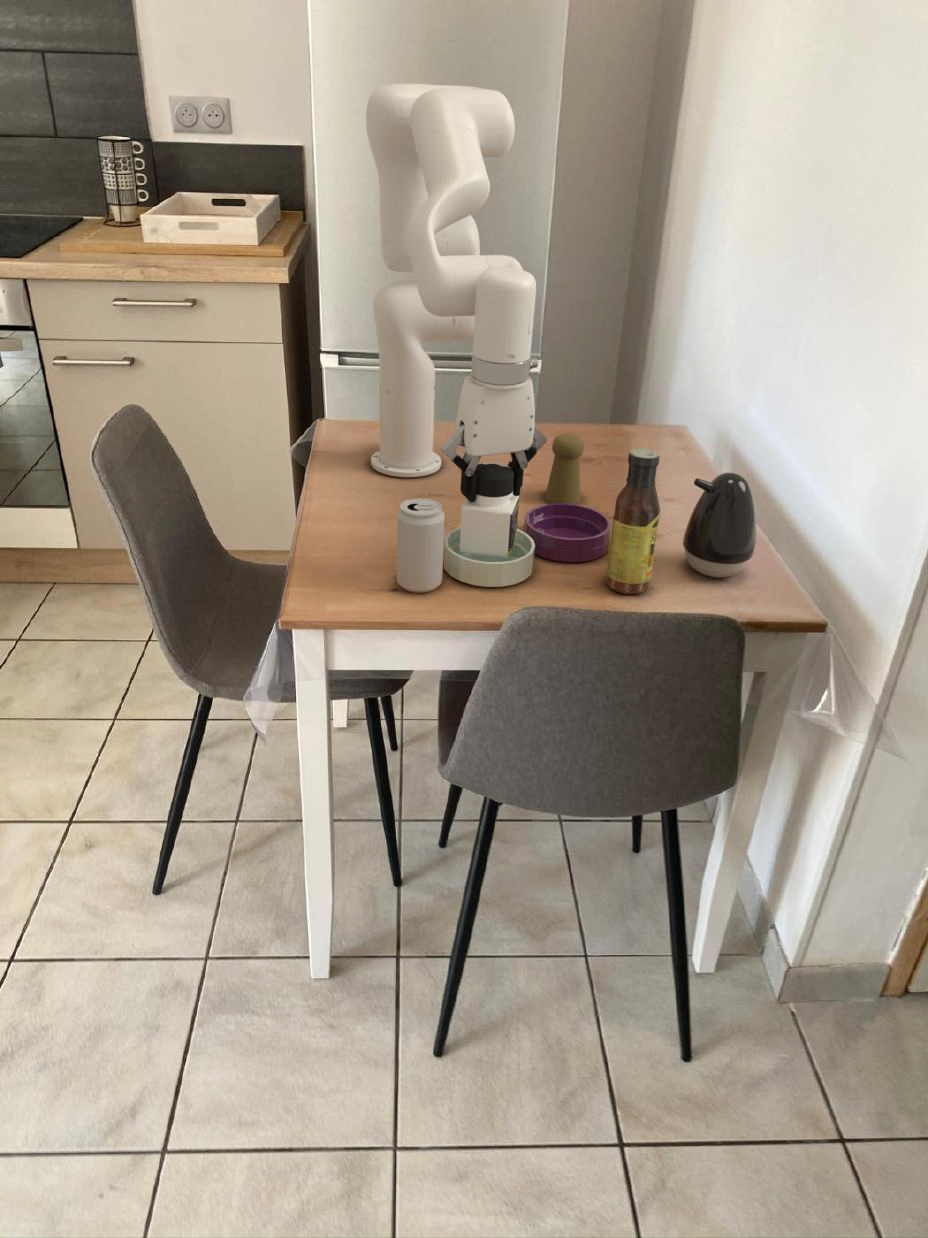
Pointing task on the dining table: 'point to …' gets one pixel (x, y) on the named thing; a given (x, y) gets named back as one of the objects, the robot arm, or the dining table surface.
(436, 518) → the beverage can
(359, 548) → the dining table surface
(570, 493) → the olive chess pawn
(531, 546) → the pale bowl
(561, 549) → the plum bowl
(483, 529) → the medicine bottle
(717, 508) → the pump dispenser
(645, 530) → the sauce bottle
